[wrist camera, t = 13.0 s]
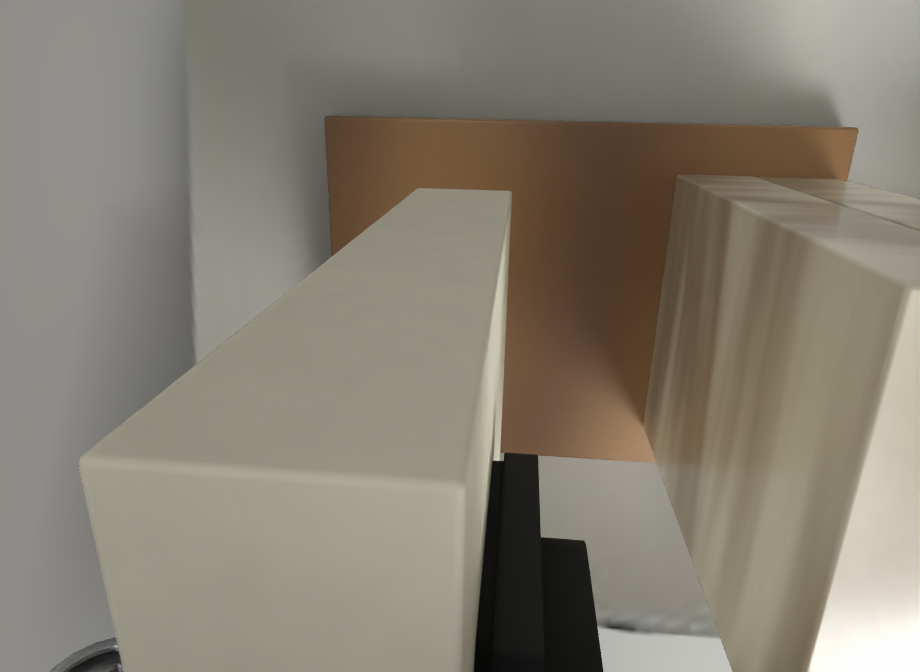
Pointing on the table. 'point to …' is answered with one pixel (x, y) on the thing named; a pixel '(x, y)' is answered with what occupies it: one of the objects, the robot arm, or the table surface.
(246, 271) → the table surface
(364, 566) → the cream book
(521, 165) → the cream board
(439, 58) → the table surface
